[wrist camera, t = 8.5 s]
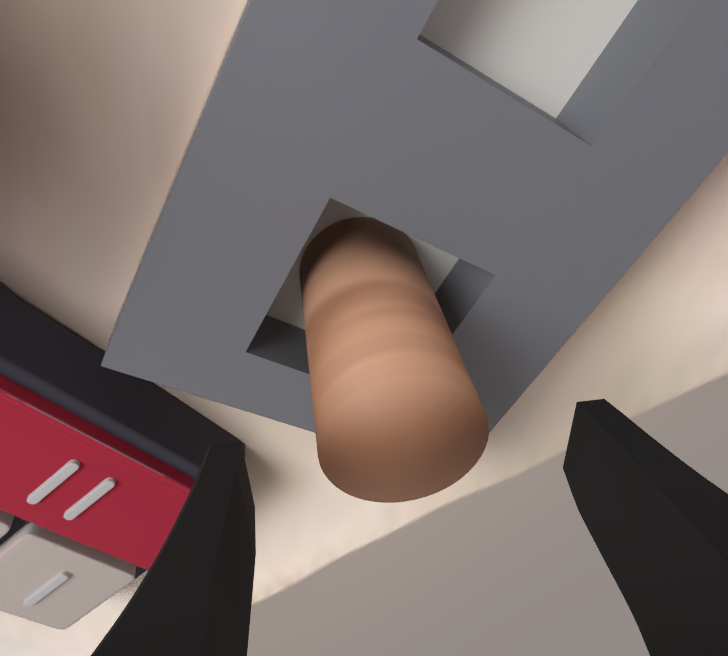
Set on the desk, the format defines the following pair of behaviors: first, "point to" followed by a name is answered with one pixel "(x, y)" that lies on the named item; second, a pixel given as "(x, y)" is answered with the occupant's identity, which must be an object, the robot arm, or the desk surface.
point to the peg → (384, 368)
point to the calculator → (83, 469)
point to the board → (424, 178)
